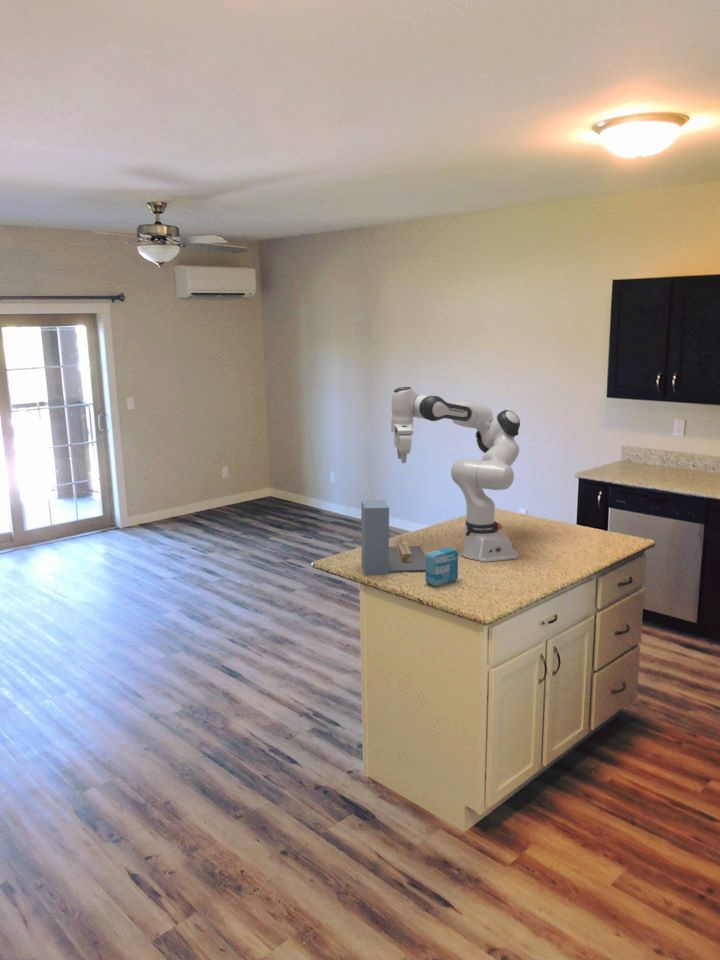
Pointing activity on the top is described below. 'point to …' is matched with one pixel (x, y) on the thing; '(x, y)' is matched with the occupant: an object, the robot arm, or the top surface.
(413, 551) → the rubber mat
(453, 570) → the data package
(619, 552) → the top surface
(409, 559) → the maple rod
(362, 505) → the slate block
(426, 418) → the robot arm
